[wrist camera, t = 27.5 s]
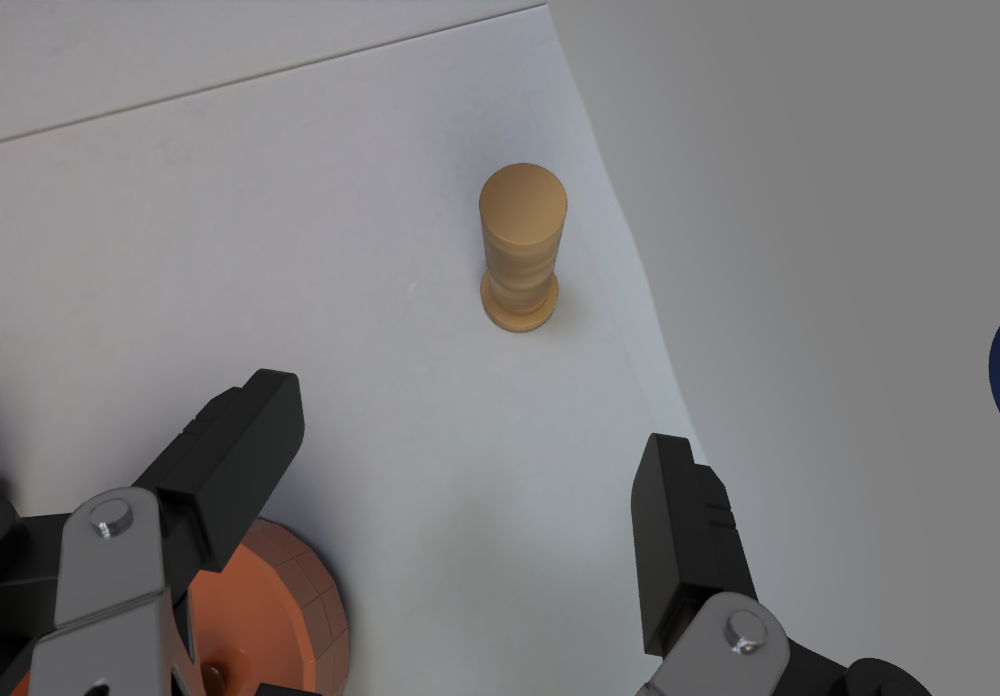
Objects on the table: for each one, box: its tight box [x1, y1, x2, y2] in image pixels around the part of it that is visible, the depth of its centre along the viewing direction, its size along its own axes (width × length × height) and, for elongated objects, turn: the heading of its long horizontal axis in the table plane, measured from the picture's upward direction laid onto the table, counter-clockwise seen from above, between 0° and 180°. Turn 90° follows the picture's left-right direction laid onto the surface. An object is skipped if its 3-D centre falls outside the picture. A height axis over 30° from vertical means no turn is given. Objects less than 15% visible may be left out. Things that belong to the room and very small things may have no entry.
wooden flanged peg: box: [479, 163, 567, 332], centre depth 28 cm, size 5×5×13 cm
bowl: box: [10, 518, 349, 696], centre depth 28 cm, size 15×15×6 cm
